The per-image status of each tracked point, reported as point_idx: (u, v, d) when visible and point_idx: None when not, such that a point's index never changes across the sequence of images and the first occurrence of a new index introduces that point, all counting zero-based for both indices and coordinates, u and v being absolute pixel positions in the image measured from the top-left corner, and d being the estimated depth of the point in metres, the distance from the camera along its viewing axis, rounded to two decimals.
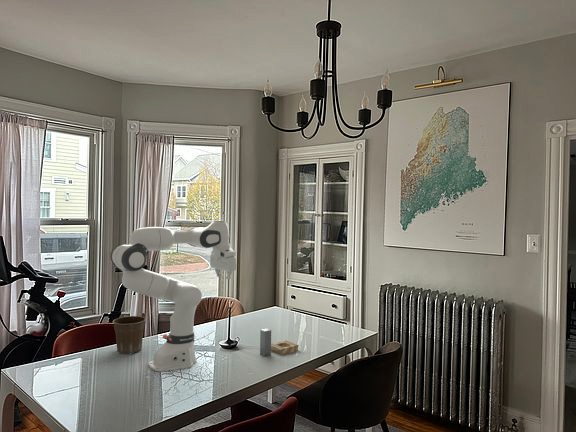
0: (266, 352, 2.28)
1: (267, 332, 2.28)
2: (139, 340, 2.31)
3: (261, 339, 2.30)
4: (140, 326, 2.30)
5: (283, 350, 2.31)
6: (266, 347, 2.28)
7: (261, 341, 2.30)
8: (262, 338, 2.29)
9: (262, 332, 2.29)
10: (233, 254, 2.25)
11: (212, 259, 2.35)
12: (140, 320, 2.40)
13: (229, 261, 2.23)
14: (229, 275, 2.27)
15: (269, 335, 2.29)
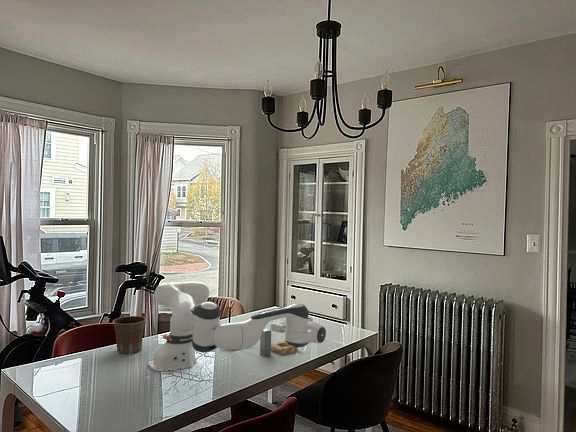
0: (266, 352, 2.28)
1: (267, 332, 2.28)
2: (139, 340, 2.31)
3: (261, 339, 2.30)
4: (140, 326, 2.30)
5: (283, 350, 2.31)
6: (266, 347, 2.28)
7: (261, 341, 2.30)
8: (262, 338, 2.29)
9: (262, 332, 2.29)
10: None
11: None
12: (140, 320, 2.40)
13: None
14: None
15: (269, 335, 2.29)
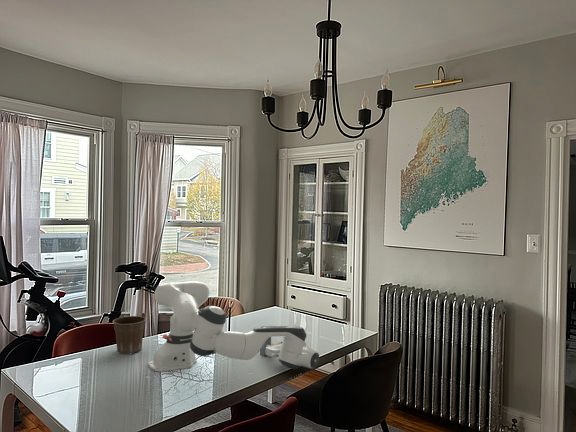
0: None
1: None
2: (139, 340, 2.31)
3: None
4: (140, 326, 2.30)
5: None
6: None
7: None
8: None
9: None
10: None
11: None
12: (140, 320, 2.40)
13: None
14: None
15: None
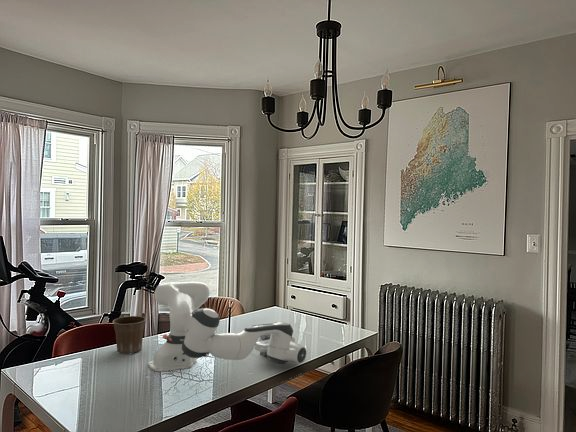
0: (266, 352, 2.28)
1: None
2: (139, 340, 2.31)
3: None
4: (140, 326, 2.30)
5: None
6: None
7: None
8: (262, 338, 2.29)
9: None
10: None
11: None
12: (140, 320, 2.40)
13: None
14: None
15: (269, 335, 2.29)
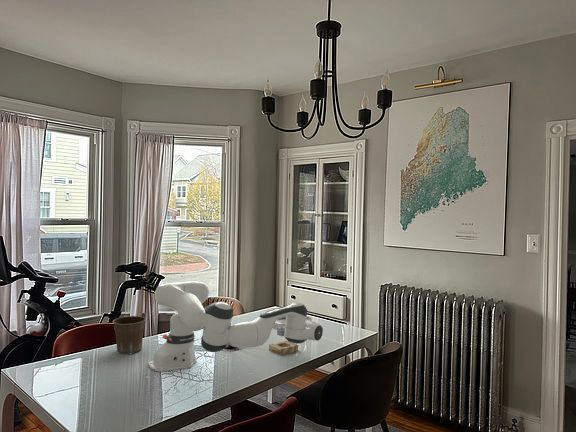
0: (283, 332, 2.33)
1: None
2: (139, 340, 2.31)
3: None
4: (140, 326, 2.30)
5: (283, 350, 2.31)
6: None
7: None
8: (279, 318, 2.34)
9: None
10: None
11: None
12: (140, 320, 2.40)
13: None
14: None
15: None
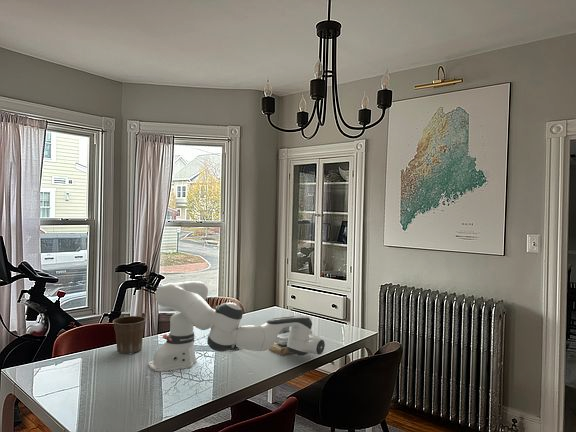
0: None
1: (285, 328, 2.36)
2: (139, 340, 2.31)
3: None
4: (140, 326, 2.30)
5: (283, 350, 2.31)
6: None
7: None
8: None
9: None
10: None
11: None
12: (140, 320, 2.40)
13: None
14: None
15: (287, 331, 2.37)
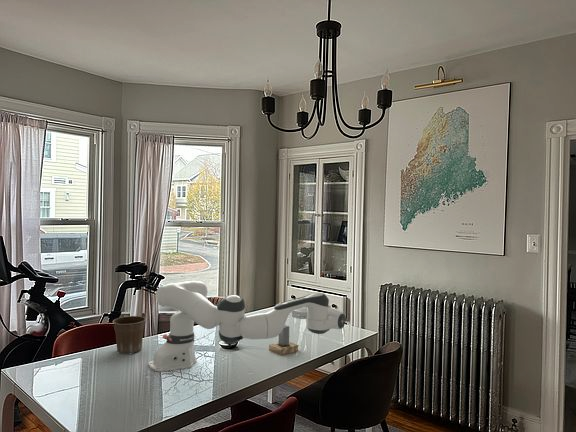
0: None
1: (285, 328, 2.36)
2: (139, 340, 2.31)
3: (280, 335, 2.37)
4: (140, 326, 2.30)
5: (283, 350, 2.31)
6: (284, 343, 2.36)
7: (279, 337, 2.37)
8: (280, 334, 2.37)
9: None
10: None
11: None
12: (140, 320, 2.40)
13: None
14: None
15: (287, 331, 2.37)
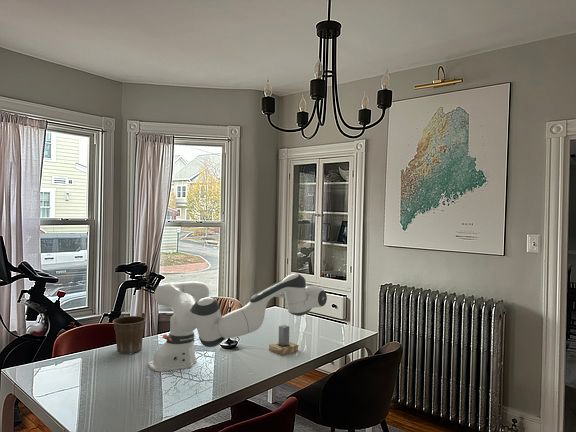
0: None
1: (285, 328, 2.36)
2: (139, 340, 2.31)
3: (280, 335, 2.37)
4: (140, 326, 2.30)
5: (283, 350, 2.31)
6: (284, 343, 2.36)
7: (279, 337, 2.37)
8: (280, 334, 2.37)
9: (280, 328, 2.37)
10: None
11: None
12: (140, 320, 2.40)
13: None
14: None
15: (287, 331, 2.37)
